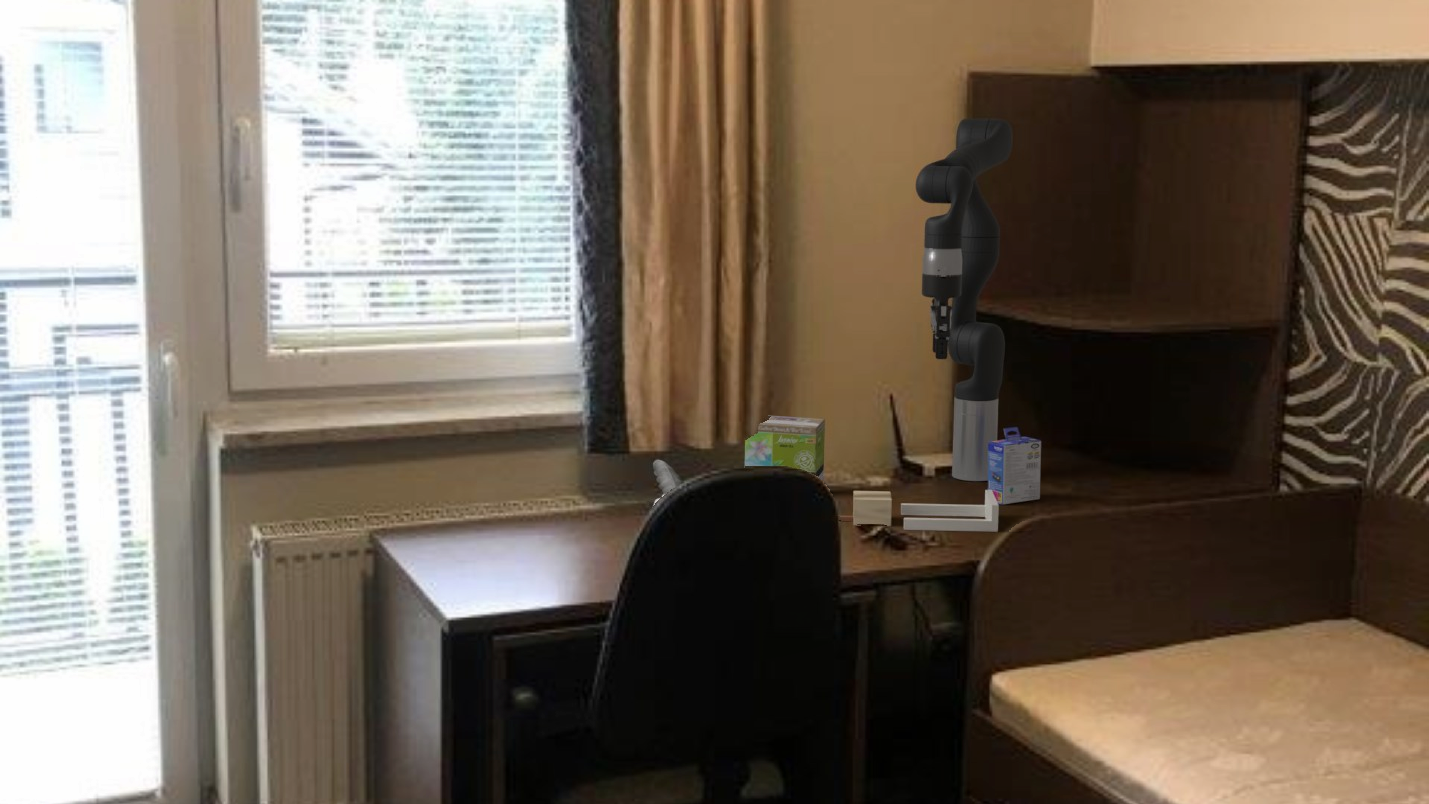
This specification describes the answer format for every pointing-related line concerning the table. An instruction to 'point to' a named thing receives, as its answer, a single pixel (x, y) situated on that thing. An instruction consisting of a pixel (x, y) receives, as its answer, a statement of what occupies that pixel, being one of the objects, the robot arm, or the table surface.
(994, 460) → the ink cartridge box
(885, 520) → the beech mallet
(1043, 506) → the table surface
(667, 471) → the grey ribbed curved piece
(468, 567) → the table surface
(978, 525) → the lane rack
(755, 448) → the tea box
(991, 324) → the robot arm
